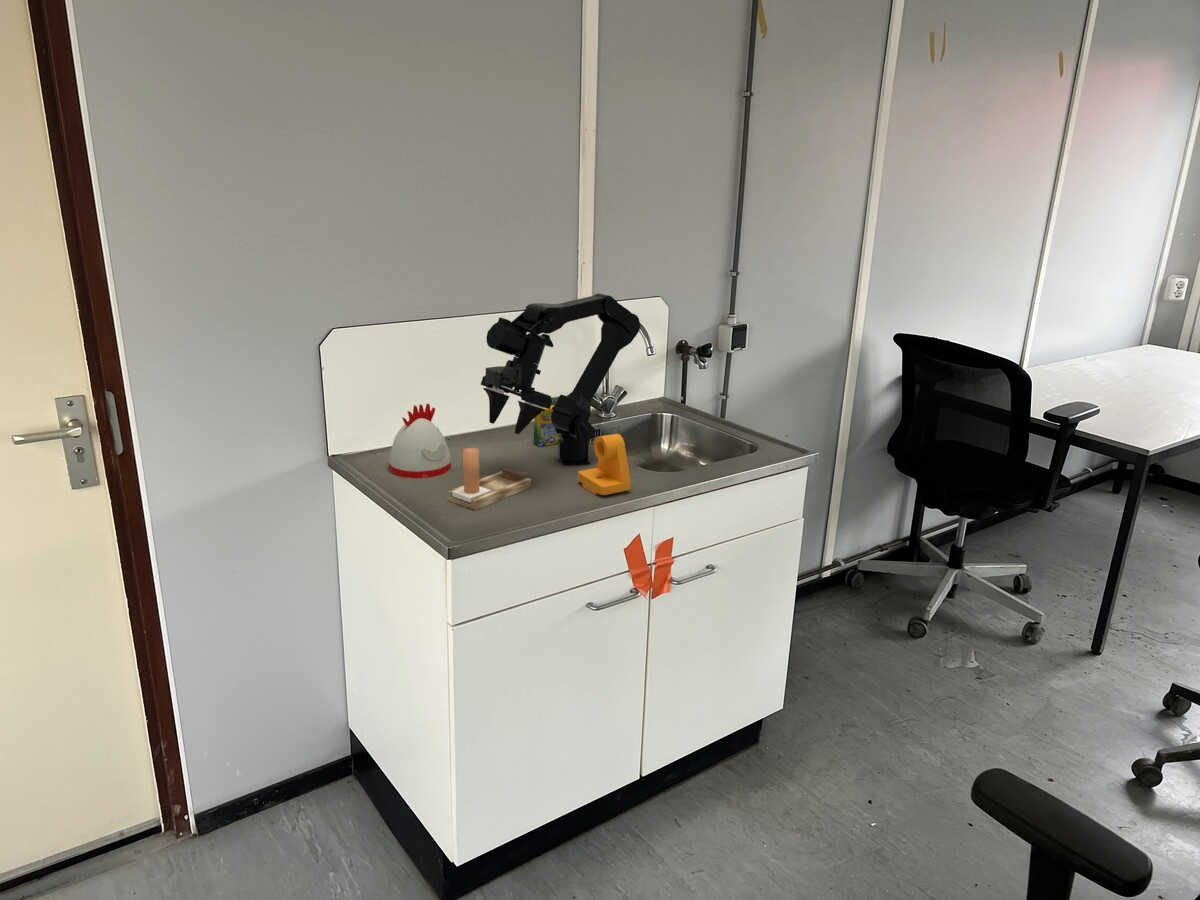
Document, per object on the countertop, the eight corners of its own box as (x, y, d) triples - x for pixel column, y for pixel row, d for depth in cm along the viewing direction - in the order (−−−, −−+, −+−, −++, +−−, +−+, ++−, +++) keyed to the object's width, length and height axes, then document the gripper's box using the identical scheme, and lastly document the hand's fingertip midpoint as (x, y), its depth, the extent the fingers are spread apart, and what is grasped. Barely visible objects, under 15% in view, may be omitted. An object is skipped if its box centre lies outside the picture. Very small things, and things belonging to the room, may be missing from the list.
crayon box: (538, 447, 219) (539, 402, 215) (533, 444, 221) (533, 399, 217) (564, 443, 222) (565, 399, 219) (558, 440, 225) (559, 396, 221)
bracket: (576, 482, 197) (577, 431, 193) (603, 477, 201) (605, 427, 197) (602, 499, 189) (604, 446, 185) (630, 493, 192) (632, 441, 188)
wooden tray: (504, 478, 198) (503, 466, 197) (530, 487, 193) (530, 474, 192) (447, 500, 185) (447, 486, 184) (475, 510, 180) (475, 496, 179)
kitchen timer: (462, 469, 203) (461, 406, 198) (410, 483, 194) (408, 417, 189) (429, 453, 212) (427, 393, 207) (378, 465, 203) (374, 403, 198)
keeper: (472, 488, 188) (472, 443, 185) (491, 494, 185) (490, 449, 182) (452, 496, 184) (451, 450, 181) (470, 502, 181) (469, 456, 177)
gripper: (473, 342, 193) (451, 410, 194) (525, 359, 180) (501, 431, 181) (511, 356, 201) (489, 421, 202) (563, 373, 188) (540, 442, 189)
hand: (503, 428), depth 193 cm, fingers open, 9 cm apart
